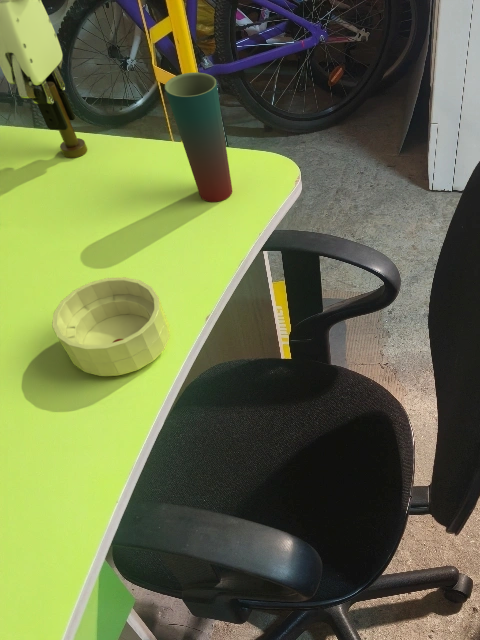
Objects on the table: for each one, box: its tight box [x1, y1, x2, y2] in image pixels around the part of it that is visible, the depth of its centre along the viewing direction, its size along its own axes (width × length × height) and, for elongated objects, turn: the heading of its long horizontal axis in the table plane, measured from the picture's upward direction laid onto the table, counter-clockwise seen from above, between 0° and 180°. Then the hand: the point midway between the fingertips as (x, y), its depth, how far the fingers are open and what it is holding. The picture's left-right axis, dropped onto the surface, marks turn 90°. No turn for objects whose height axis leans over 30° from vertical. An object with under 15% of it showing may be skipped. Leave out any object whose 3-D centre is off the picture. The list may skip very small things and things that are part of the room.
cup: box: [164, 72, 233, 203], centre depth 83 cm, size 7×7×15 cm
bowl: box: [51, 276, 171, 377], centre depth 70 cm, size 12×12×5 cm
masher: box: [39, 82, 88, 159], centre depth 93 cm, size 4×4×10 cm
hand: (61, 122), depth 93 cm, fingers closed on masher, 2 cm apart
